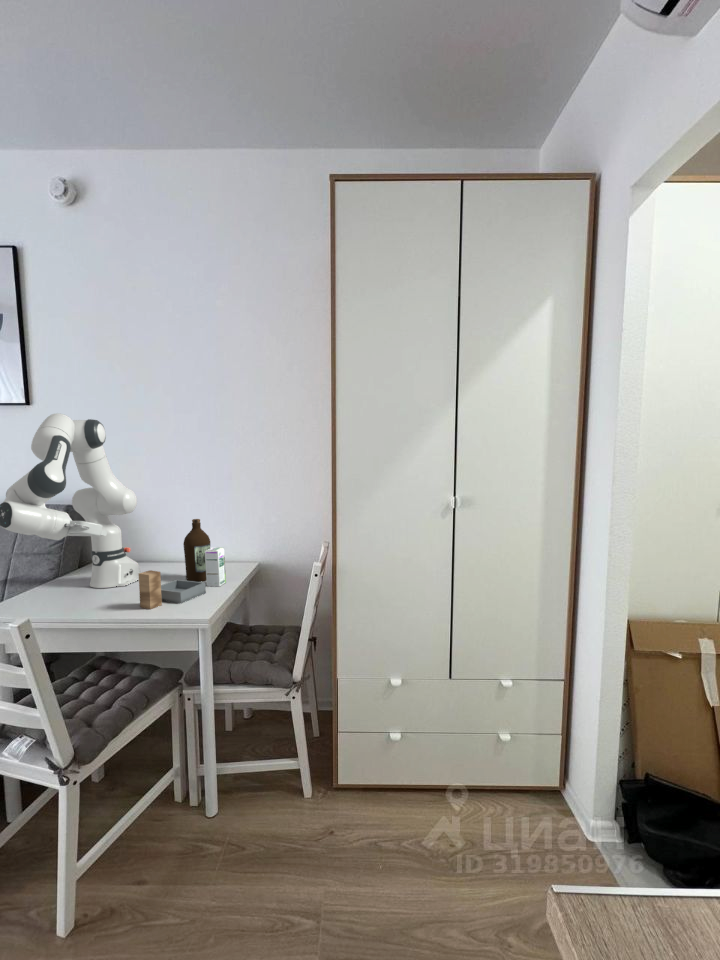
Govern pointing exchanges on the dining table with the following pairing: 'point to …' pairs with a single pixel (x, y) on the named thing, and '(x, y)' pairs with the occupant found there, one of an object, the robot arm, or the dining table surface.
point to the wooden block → (150, 589)
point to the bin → (181, 590)
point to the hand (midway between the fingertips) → (96, 533)
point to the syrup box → (215, 567)
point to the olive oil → (196, 552)
